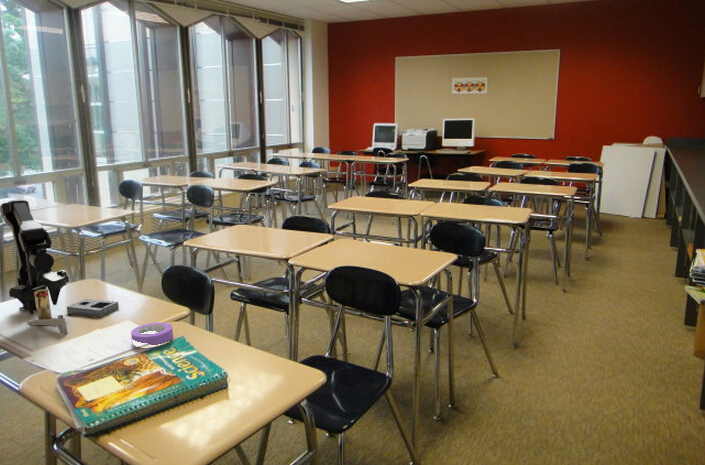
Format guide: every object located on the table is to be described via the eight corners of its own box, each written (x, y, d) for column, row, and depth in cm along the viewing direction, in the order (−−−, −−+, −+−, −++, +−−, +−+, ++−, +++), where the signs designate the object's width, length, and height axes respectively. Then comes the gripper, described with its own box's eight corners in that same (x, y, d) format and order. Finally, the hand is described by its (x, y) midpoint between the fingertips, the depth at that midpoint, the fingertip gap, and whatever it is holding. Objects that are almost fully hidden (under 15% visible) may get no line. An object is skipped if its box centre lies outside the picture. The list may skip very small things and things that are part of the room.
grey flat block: (67, 313, 186) (66, 306, 185) (87, 304, 194) (86, 298, 193) (100, 317, 181) (99, 310, 181) (118, 308, 190) (118, 301, 189)
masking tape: (138, 334, 167) (137, 323, 166) (176, 332, 168) (175, 321, 167) (127, 350, 155) (125, 338, 154) (168, 348, 156) (167, 335, 156)
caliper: (68, 334, 168) (65, 315, 167) (64, 335, 167) (62, 316, 166) (30, 323, 178) (28, 305, 177) (27, 324, 177) (24, 306, 176)
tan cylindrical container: (35, 320, 179) (31, 292, 177) (45, 316, 183) (41, 288, 181) (44, 322, 178) (40, 293, 176) (54, 317, 182) (50, 289, 180)
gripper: (31, 274, 165) (38, 321, 169) (78, 259, 183) (84, 302, 186) (4, 271, 169) (11, 318, 172) (53, 257, 186) (59, 299, 189)
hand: (43, 309), depth 180 cm, fingers open, 9 cm apart
